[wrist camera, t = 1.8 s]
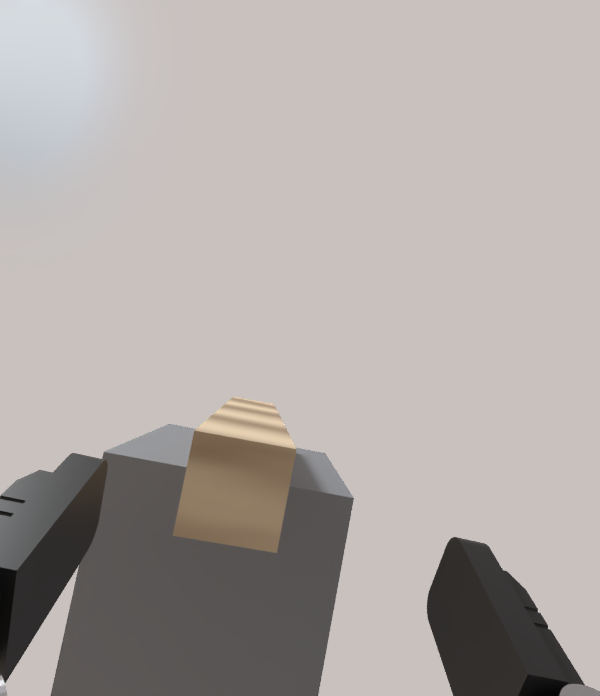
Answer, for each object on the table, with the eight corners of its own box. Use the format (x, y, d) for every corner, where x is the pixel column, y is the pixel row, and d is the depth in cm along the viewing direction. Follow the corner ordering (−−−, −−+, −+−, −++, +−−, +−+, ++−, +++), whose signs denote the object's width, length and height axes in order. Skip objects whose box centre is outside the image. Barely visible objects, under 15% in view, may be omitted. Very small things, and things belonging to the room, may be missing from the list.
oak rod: (277, 552, 14) (296, 449, 14) (172, 535, 14) (194, 430, 14) (265, 444, 36) (273, 404, 36) (225, 437, 36) (233, 396, 36)
